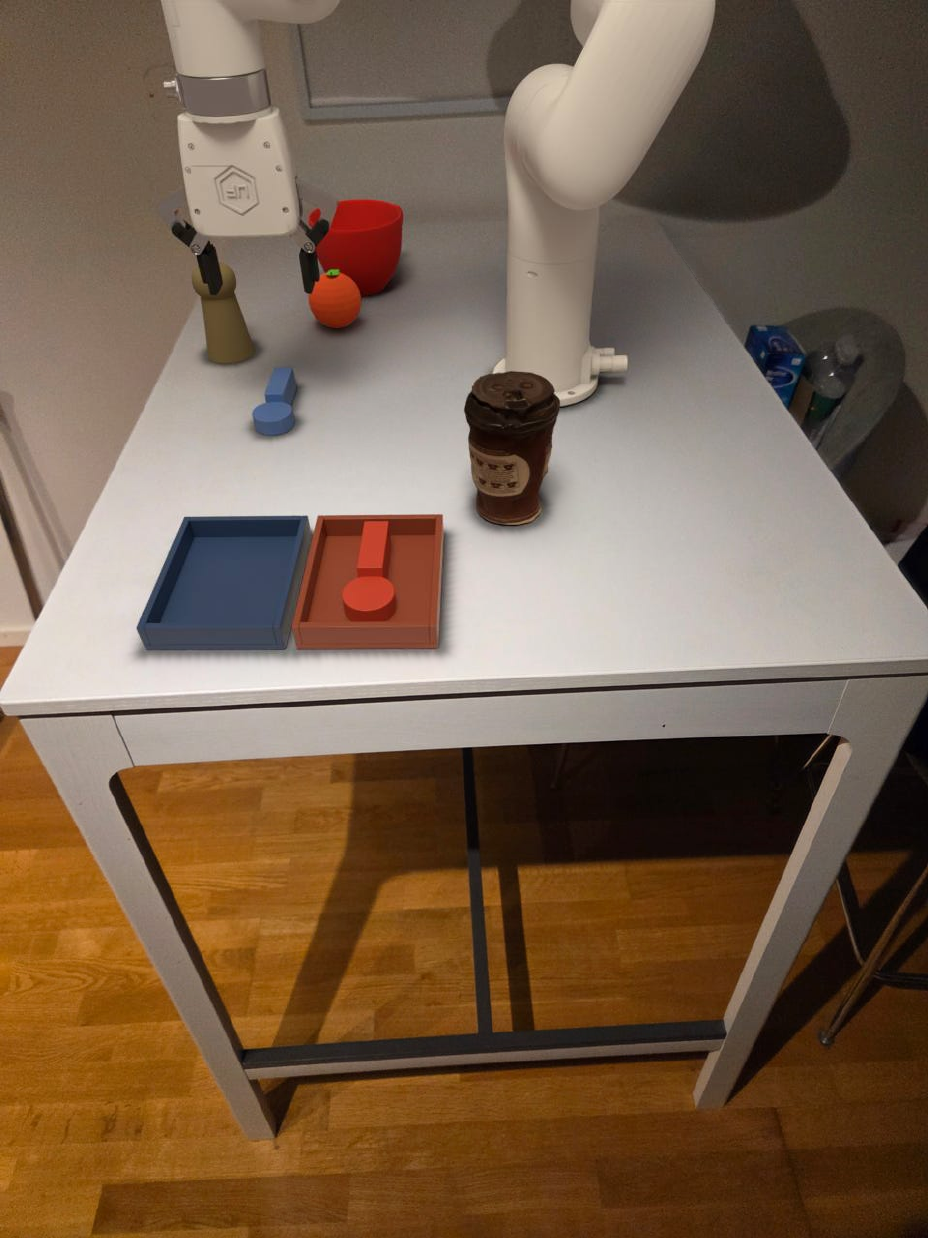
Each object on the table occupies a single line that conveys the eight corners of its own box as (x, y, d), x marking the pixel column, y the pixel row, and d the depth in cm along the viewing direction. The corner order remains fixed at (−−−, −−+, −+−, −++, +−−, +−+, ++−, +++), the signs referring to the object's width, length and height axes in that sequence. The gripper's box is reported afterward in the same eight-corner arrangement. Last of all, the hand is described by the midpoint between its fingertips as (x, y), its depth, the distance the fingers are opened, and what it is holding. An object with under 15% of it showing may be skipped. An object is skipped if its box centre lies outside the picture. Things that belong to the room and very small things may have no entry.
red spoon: (355, 545, 74) (352, 520, 72) (403, 544, 73) (400, 520, 72) (341, 626, 66) (337, 601, 64) (394, 626, 66) (391, 601, 64)
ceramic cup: (438, 270, 121) (435, 199, 114) (371, 312, 111) (363, 237, 104) (370, 255, 126) (363, 186, 119) (300, 293, 116) (288, 220, 109)
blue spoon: (269, 388, 96) (265, 366, 94) (305, 388, 96) (302, 366, 94) (251, 435, 89) (246, 413, 87) (291, 435, 88) (286, 413, 87)
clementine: (318, 311, 111) (310, 259, 106) (367, 310, 111) (362, 258, 106) (308, 337, 106) (299, 283, 101) (360, 336, 105) (354, 282, 100)
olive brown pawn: (244, 365, 101) (223, 276, 93) (199, 361, 101) (175, 274, 94) (262, 343, 105) (243, 257, 97) (219, 340, 106) (198, 254, 98)
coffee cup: (523, 546, 74) (529, 422, 65) (448, 518, 77) (443, 397, 68) (566, 498, 79) (576, 377, 70) (494, 474, 82) (495, 355, 73)
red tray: (443, 535, 75) (442, 513, 73) (438, 648, 65) (436, 626, 63) (321, 537, 76) (317, 515, 74) (296, 649, 65) (291, 627, 63)
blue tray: (312, 537, 76) (308, 515, 74) (285, 649, 65) (279, 627, 63) (191, 538, 76) (184, 516, 74) (145, 650, 65) (135, 627, 64)
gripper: (115, 106, 67) (170, 306, 79) (319, 102, 67) (343, 302, 79) (140, 86, 73) (188, 276, 85) (329, 82, 73) (350, 273, 85)
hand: (263, 289), depth 82 cm, fingers open, 9 cm apart
